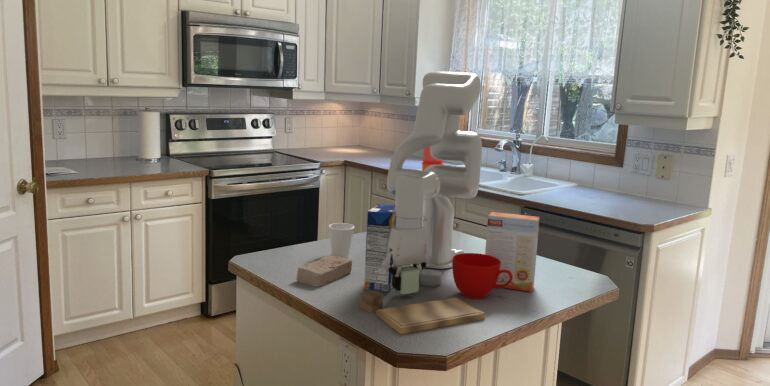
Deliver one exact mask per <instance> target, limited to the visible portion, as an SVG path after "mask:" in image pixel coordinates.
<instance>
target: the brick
mask: <svg viewBox="0 0 770 386" xmlns="http://www.w3.org/2000/svg"><path fill="white" fill-rule="evenodd" d="M352 267H353V259H350V258H349V257H347V258H344V257H337V256H332V254H329V255H326V256H324V257H322V258H319V259H318V260H315V261H313V262H309V263H308V262H307V263H305V264H304V265H301V266H299V267H298V268H297V272H296V273H297V274H296V282H297V283H300V284H304V285H309V286H311V287H314V288H319V287H321V286H322V287H323V286H325V285H327V284H329V283H331V282H333V281H336V280H339V279H341V278H343V277H346V276H347V275H349V274H350V273H351V272H352V269H353V268H352Z"/></svg>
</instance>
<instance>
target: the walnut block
mask: <svg viewBox="0 0 770 386" xmlns="http://www.w3.org/2000/svg"><path fill="white" fill-rule="evenodd" d="M383 307H384V293H382V292H379V291H373V290H367V291H364V292H362V293H360V305H359V308H360V310H362V311H365V312H368V313H371V314H373V313H376V310H378V309H384V308H383Z"/></svg>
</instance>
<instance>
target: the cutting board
mask: <svg viewBox="0 0 770 386" xmlns="http://www.w3.org/2000/svg"><path fill="white" fill-rule="evenodd" d="M375 313H376V317H377V318H378V319H380V320H382V321H383V322H384V323H386V324H387V325H388V326H389V327H391V328H392V329H393V330H394V331H396V332H397V333H399V335H405V334H410V333H415V332H420V331H425V330H426V331H427V330H432V329H437V328H442V327H447V326H453V325H459V324H465V323H469V322H474V321H480V320H485V319H486V312H484V311H483V310H481V309H479V308H477V307H476V306H473V305H472V304H471V303H469V302H467V301H464V300H463V299H461V298H459V297H457V296H456V297H450V298H443V299H437V300H430V301H424V302H418V303H411V304H405V305H400V306H399V305H398V306H393V307H386V308H383V309H378V310H376V312H375Z"/></svg>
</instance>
